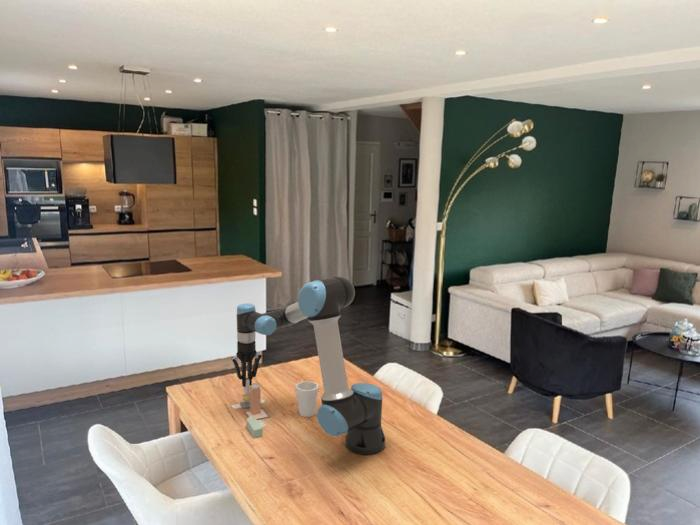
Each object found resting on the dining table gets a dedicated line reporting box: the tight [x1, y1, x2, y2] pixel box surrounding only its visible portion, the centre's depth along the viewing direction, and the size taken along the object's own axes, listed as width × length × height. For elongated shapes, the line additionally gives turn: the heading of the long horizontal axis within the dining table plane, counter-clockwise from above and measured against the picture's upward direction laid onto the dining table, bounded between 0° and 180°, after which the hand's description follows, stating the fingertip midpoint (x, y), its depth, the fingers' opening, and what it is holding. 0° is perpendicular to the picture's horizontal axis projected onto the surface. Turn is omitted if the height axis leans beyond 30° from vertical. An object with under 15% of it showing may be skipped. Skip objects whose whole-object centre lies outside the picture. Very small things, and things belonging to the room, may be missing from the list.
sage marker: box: [245, 417, 264, 439], centre depth 201 cm, size 10×3×3 cm, turn 29°
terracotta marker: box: [249, 383, 262, 415], centre depth 216 cm, size 3×3×12 cm
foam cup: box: [295, 380, 319, 418], centre depth 216 cm, size 10×9×13 cm
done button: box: [242, 393, 250, 402], centre depth 222 cm, size 4×4×2 cm
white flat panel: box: [230, 398, 271, 428], centre depth 214 cm, size 28×14×2 cm, turn 29°
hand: (246, 393), depth 222 cm, fingers closed
